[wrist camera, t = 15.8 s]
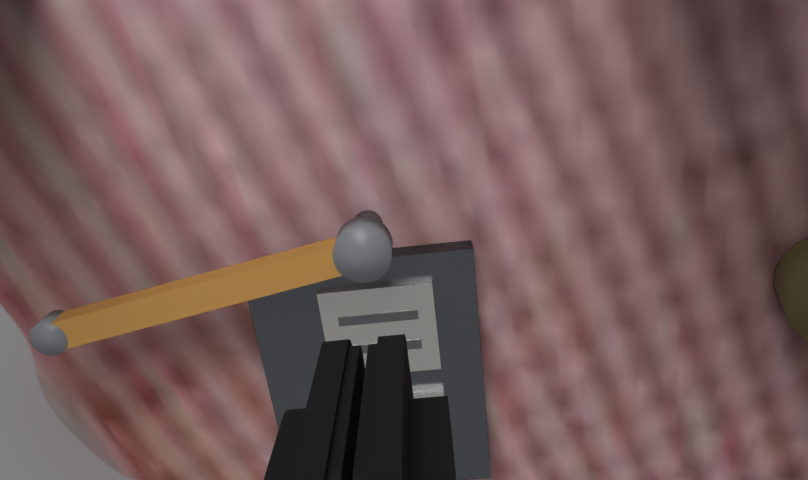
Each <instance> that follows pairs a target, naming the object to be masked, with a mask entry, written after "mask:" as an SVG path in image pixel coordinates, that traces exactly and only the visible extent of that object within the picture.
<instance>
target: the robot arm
mask: <svg viewBox="0 0 808 480" xmlns="http://www.w3.org/2000/svg"><path fill="white" fill-rule="evenodd" d="M264 480H456V471H455V460H454V450H453V440H452V430H451V421H450V411H449V402H448V396H437V397H426V398H414V396H413V388H412V381H411V373H410V365H409V358H408V350H407V342H406V336H405V334H400V335H389V336H379V337H378V341H377V344H369V345H368V350H367V359H366V367H365V364H364V358H363V352H362V348H361V346H360V345H358V346H352V343H351V340H350V339H346V340H336V341H325V342H322V345H321V349H320V353H319V357H318V361H317V365H316V369H315V373H314V377H313V381H312V385H311V389H310V393H309V397H308V401H307V405H306V408H300V409H289V410H286V411H285V413H284V415H283V417H282V421H281V424H280V427H279V431H278V434H277V437H276V441H275V444H274V447H273V451H272V454H271V457H270V461H269V464H268V467H267V471H266V474H265V477H264Z"/></svg>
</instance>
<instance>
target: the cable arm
mask: <svg viewBox="0 0 808 480" xmlns="http://www.w3.org/2000/svg"><path fill="white" fill-rule="evenodd" d="M392 245H393V242H392V237H391V234H390V232H389V230H388V229H387V228H386V226H385V225H384V224H382V223H381V222H379V221H378V220H376V219H373V218H369V217H358V218H354V219H352V220H350V221H348V222H347V223H345V224H344V225H343V226H342V227H341V229H340V230H339V232H338V235H337V237H334V238H331V239H327V240H323V241H320V242H316V243H312V244H309V245H305V246H301V247H298V248H294V249H290V250H287V251H283V252H279V253H276V254H272V255H268V256H265V257H261V258H258V259H254V260H250V261H247V262H243V263H239V264H236V265H232V266H228V267H225V268H221V269H217V270H214V271H210V272H206V273H203V274H199V275H195V276H192V277H188V278H184V279H181V280H177V281H173V282H170V283H166V284H162V285H159V286H155V287H151V288H148V289H144V290H141V291H137V292H133V293H130V294H126V295H122V296H119V297H115V298H111V299H108V300H104V301H100V302H97V303H93V304H89V305H86V306H82V307H78V308H75V309H71V310H67V311H63V310H55V311H52V312H50V313H49V314H48V315H46V316H45V317H44V318H43V319H42V320H41V321H40V322H39V323H37V324H36V325H35V326H34V327H33V328H32V329H31V331H30V334H29V339H30V342H31V344H32V345H33V347H34V348H35V349H36V350H38V351H39V352H41V353H43V354H45V355H51V356H53V355H58V354H61V353H62V352H63V351H64V350H65V349H68V348H72V347H76V346H79V345H83V344H87V343H91V342H95V341H98V340H102V339H106V338H110V337H113V336H117V335H121V334H125V333H128V332H132V331H136V330H140V329H144V328H147V327H151V326H155V325H159V324H162V323H166V322H170V321H174V320H177V319H181V318H185V317H189V316H193V315H196V314H200V313H204V312H208V311H211V310H215V309H219V308H223V307H226V306H230V305H234V304H238V303H242V302H245V301H249V300H253V299H257V298H260V297H264V296H268V295H272V294H275V293H279V292H283V291H287V290H291V289H294V288H298V287H302V286H306V285H309V284H313V283H317V282H321V281H324V280H328V279H332V278H336V277H339V276H344V277H345V278H347V279H349V280H351V281H354V282H359V283H367V282H372V281H375V280H377V279H379V278H380V277H382V276H383V275H384V274H385V273H386V272H387V270H388V269H389V267H390V264H391V259H392Z"/></svg>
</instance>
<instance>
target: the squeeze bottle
mask: <svg viewBox="0 0 808 480" xmlns="http://www.w3.org/2000/svg"><path fill="white" fill-rule="evenodd" d="M773 283H774V286H775V289H776V292H777V296H778V298H779V300H780V303H781V305H782V308H783V310H784V313H785V315H786V318H787V320H788V323H789V325H790V328H791V329H792V330H793V331H794V332H795V333H797V334H798V335H799V336H800V337H801V338H802V339H803V340H804V341H805V342H807V343H808V238H807V239H805V240H802V241H800V242H798V243H797V244H796V245H794V246H793V247H792V248H791V249H790V250H788V251H787V252H786V253H785V254H784V256H783V257H782V259H781V260H780V262H779V264H778V265H777V267H776V270H775V276H774V282H773Z"/></svg>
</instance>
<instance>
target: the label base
mask: <svg viewBox="0 0 808 480" xmlns="http://www.w3.org/2000/svg"><path fill="white" fill-rule="evenodd" d="M358 217H369V218H373V219H376V220H378V221H379V222H381V223H382V220H381V217H380V216H379V215H378V214H377V213H375V212H373V211H370V210H366V211H362V212H360V213H358V214H357V215H356V217H355V218H358ZM248 303H249V307H250V311H251V316H252V320H253V324H254V328H255V332H256V337H257V341H258V345H259V349H260V353H261V358H262V362H263V366H264V370H265V374H266V379H267V383H268V387H269V391H270V396H271V400H272V404H273V408H274V412H275V417H276V421H277V425H278V429H279V427H280V424H281V421H282V417H283V415H284V413H285V411H286V410H289V409H300V408H306V405H307V401H308V397H309V393H310V389H311V385H312V381H313V377H314V373H315V369H316V365H317V361H318V357H319V353H320V349H321V345H322V342H325V341H336V340H346V339H350V340H351V343H352V346H358V345H360V346H361V348H362V352H363V358H364V364H365V367H366V359H367V350H368V345H369V344H377V341H378V337H379V336H389V335H400V334H405V336H406V342H407V350H408V358H409V365H410V373H411V381H412V388H413V396H414V398H426V397H437V396H448V402H449V411H450V421H451V430H452V440H453V450H454V460H455V471H456V480H464V479H477V478H489V477H491V475H490V462H489V449H488V436H487V423H486V410H485V397H484V384H483V371H482V358H481V345H480V331H479V318H478V305H477V292H476V279H475V266H474V253H473V246H472V242H471V240H470V241H460V242H450V243H440V244H430V245H420V246H410V247H400V248H392V259H391V264H390V267H389V269H388V270H387V272H386V273H385V274H384V275H383V276H382V277H380V278H379V279H377V280H375V281H372V282H367V283H359V282H354V281H351V280H349V279H347V278H345V277H344V276H339V277H336V278H332V279H328V280H324V281H321V282H317V283H313V284H309V285H306V286H302V287H298V288H294V289H291V290H287V291H283V292H279V293H275V294H272V295H268V296H264V297H260V298H257V299H253V300H249V301H248Z"/></svg>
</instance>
